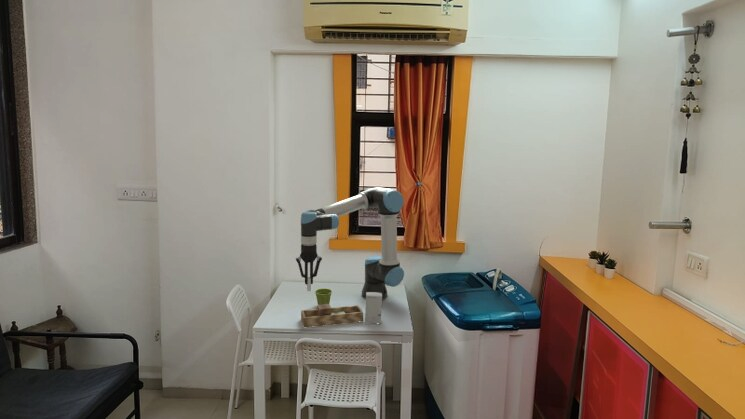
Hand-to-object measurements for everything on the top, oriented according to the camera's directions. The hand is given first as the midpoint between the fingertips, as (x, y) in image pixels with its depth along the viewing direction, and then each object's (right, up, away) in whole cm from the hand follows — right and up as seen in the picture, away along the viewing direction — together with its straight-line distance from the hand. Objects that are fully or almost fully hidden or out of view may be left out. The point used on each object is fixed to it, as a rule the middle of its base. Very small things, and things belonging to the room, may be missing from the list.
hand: (308, 290), depth 224 cm
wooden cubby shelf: (+11, -17, +6) cm, 21 cm away
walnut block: (+7, -14, +5) cm, 16 cm away
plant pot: (+5, -13, +25) cm, 29 cm away
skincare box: (+32, -17, +6) cm, 37 cm away
